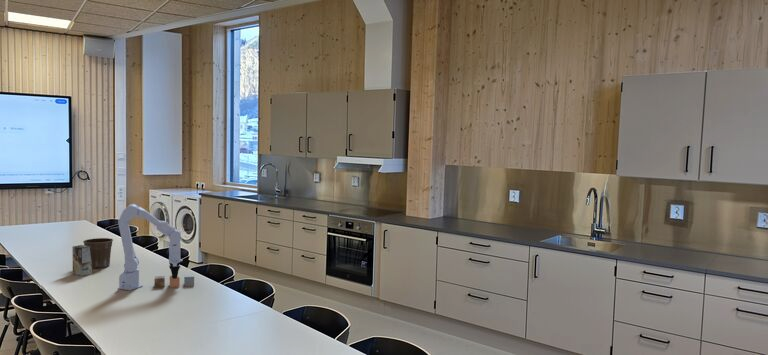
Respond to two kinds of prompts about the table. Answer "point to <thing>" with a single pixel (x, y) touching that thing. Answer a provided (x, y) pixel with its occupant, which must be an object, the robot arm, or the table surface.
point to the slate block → (189, 280)
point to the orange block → (174, 281)
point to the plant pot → (100, 251)
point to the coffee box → (82, 260)
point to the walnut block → (159, 281)
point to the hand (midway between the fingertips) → (174, 276)
